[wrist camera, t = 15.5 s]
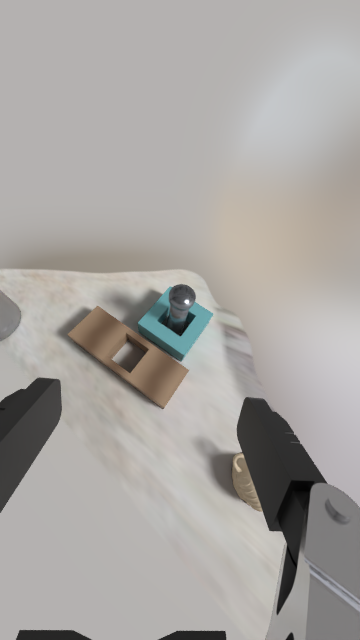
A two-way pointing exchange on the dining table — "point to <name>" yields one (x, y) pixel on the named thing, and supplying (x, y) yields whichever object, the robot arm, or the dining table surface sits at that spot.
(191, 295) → the axle
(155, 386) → the beam
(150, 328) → the holder
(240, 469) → the decorative ornament
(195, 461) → the dining table surface
